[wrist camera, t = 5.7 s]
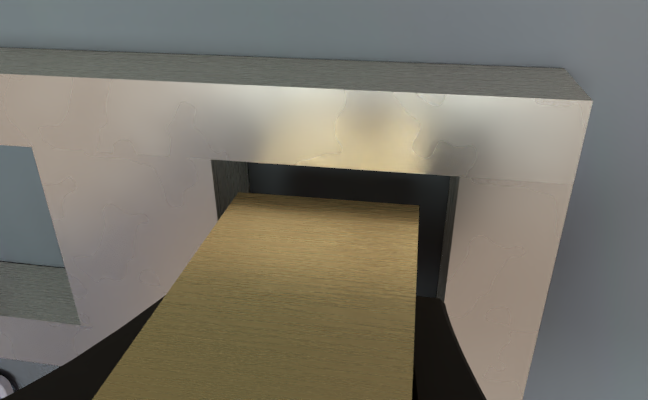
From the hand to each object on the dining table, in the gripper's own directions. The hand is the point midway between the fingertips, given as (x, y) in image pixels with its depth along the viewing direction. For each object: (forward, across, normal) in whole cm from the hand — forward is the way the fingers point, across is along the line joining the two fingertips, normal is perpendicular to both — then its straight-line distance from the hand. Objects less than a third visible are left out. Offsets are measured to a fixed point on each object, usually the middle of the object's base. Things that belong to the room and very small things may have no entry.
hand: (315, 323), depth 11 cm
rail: (+4, +5, 0) cm, 7 cm away
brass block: (+2, 0, 0) cm, 2 cm away
